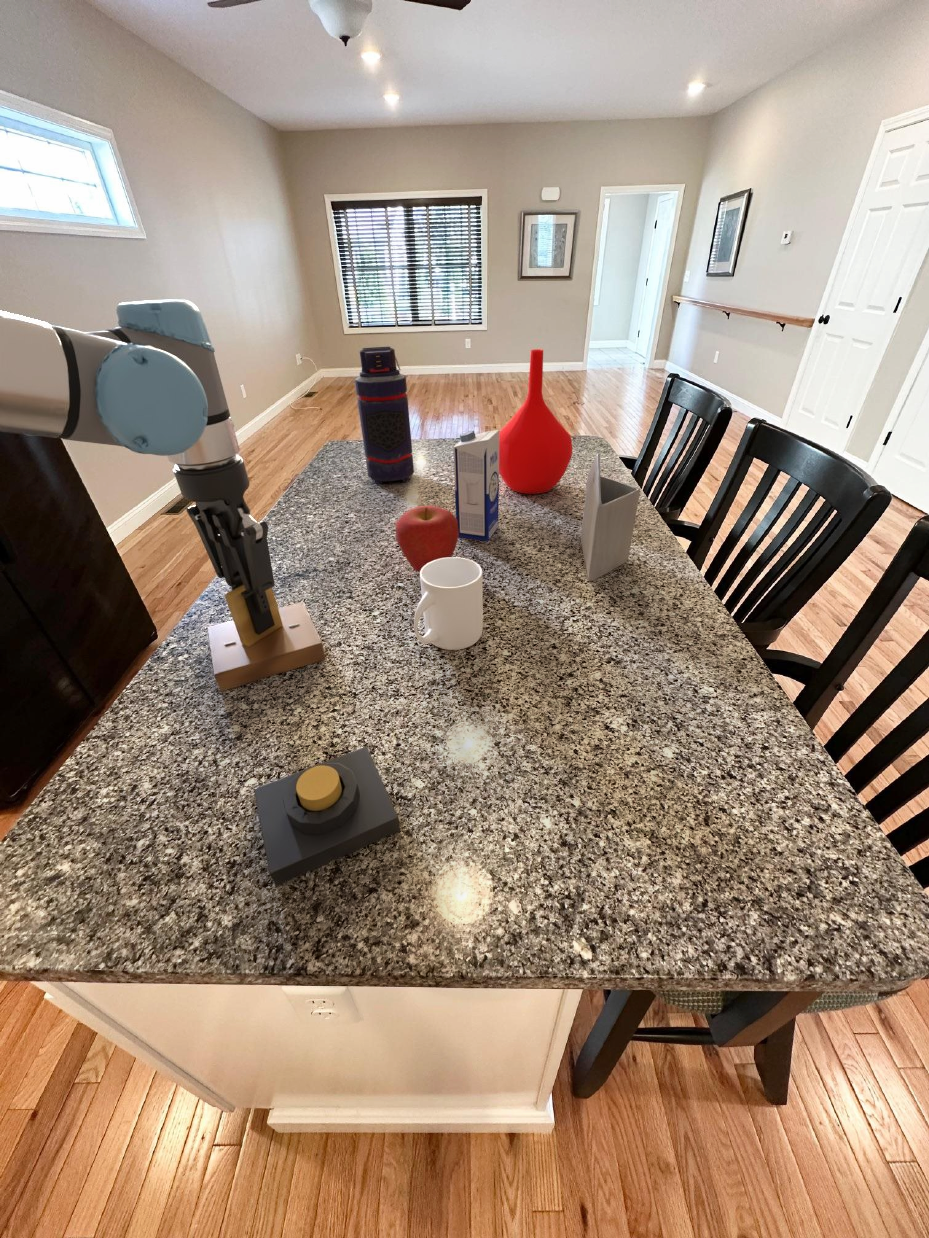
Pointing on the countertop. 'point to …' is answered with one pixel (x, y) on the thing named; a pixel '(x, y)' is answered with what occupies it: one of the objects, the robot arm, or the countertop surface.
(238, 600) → the thumbturn
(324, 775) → the button
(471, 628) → the mug
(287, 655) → the plate
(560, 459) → the vase
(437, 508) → the apple
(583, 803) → the countertop surface
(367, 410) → the navy water bottle
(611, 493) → the planter
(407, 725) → the countertop surface
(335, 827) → the push button housing
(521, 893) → the countertop surface
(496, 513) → the milk carton
